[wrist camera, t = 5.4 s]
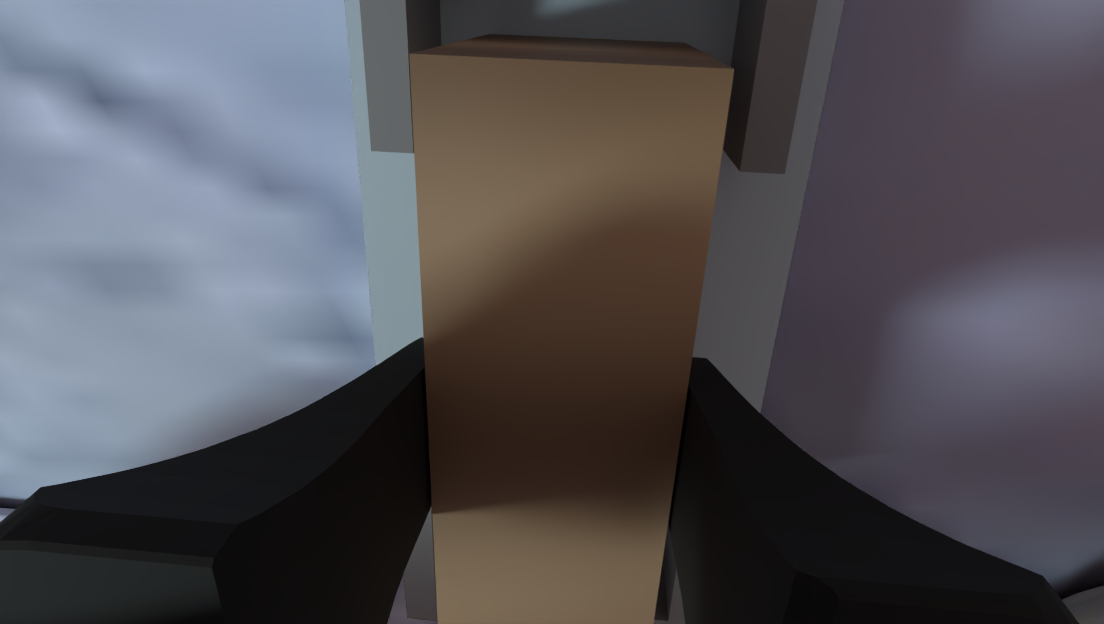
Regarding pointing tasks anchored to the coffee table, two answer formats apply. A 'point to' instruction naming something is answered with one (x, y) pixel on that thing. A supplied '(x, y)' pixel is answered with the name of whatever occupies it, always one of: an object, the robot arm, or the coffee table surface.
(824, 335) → the coffee table surface
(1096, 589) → the teacup
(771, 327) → the board
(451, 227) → the tan wooden block
